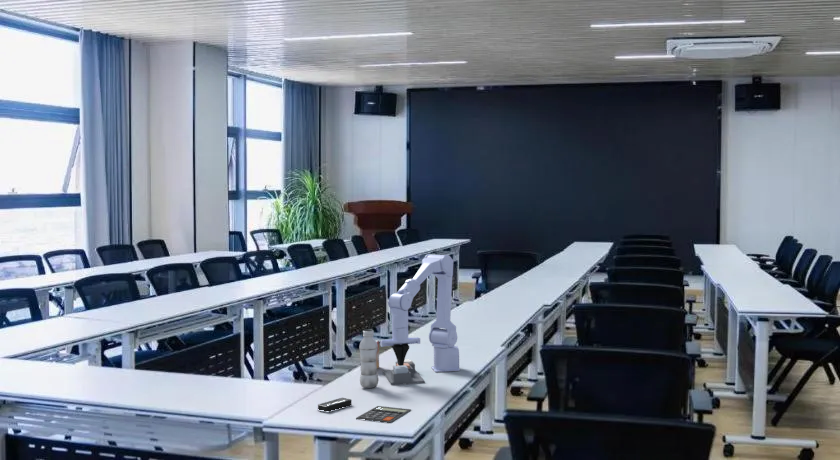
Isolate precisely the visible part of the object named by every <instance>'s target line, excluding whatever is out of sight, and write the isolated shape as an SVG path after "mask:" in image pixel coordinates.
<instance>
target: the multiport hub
mask: <svg viewBox="0 0 840 460" xmlns="http://www.w3.org/2000/svg"><path fill="white" fill-rule="evenodd" d="M350 405H352V399H351V398H345V397H339V398H336V399H333V400H329V401H325V402H321V403H318V404H317V410H318V409H319V410H324V411H331V410H335V409H339V408H342V407H346V406H349V407H351V406H350ZM346 408H347V407H346ZM342 409H343V408H342ZM339 410H340V409H339Z"/></svg>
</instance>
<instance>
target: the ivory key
mask: <svg viewBox="0 0 840 460" xmlns="http://www.w3.org/2000/svg"><path fill="white" fill-rule="evenodd" d="M412 362H413V361H412V360H411V358H405V360H404V363H408V364H412Z"/></svg>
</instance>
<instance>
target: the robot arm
mask: <svg viewBox="0 0 840 460" xmlns="http://www.w3.org/2000/svg"><path fill="white" fill-rule="evenodd" d="M431 274H432V275H433V276H435V278H437V294H436V295H437V296H436V316H435V317H436V319H435V321H434V322H433V323H432V324H430V329H429V333H428V340H429V342H430V343H431V346H432V347H433V366H431V369H432V370H433V371H434V372H435V373H441V372H457V371H458V372H459V371H461V369H460V349H459V347H458V345H456V343H457V342H458V333H457V325H455V324H454V323H453V322H452V321H451V313H452V312H451V310H452V289H453V276H454V259H453V258H452V257H451V256H450V255H449V254H434V253H433V254H431V253H427V254H426V255H425V256H424V257H423V258H422V259H421V265H420V267H419V268H418V270H417V272H416V273H415V275H414V276H413V278H409V279H406V280H405V282H404V284H403V285H402V286H401V287H400V288H399V289H398V291H397V292H394V293H392V294H391V295H390V296H389V298H388V301H387V304H388V308H389V309H390V314H391V334H392V335H391V337H392V338H389V339H383V340H379V347H382V348H384V347H390V346H391V348H392V350H393V352H394V355H395V357H396V362H398V365H399V366H402V365H404V360H405V359H406V356H407V354H408V352H409V349H410V345H414V344H415V345H419V344H421V337H418V336H417V337H409V309H410V308H411V307H412V303H413V300H414V297H415V296H416V295H417V294H418V293H419V291H420V290H421V284H422V283H424V281H425V280H426V279H427V278H428V277H429V276H430V275H431Z"/></svg>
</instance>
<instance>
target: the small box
mask: <svg viewBox="0 0 840 460" xmlns="http://www.w3.org/2000/svg"><path fill="white" fill-rule="evenodd" d="M375 341H376V342H377V345H378V348H377V360H376V366H377V369H379V368H380V340H376V339H375ZM359 357H360V358H359V360H360V361H359V362H360V365H359V366H361V355H360V354H359Z"/></svg>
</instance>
